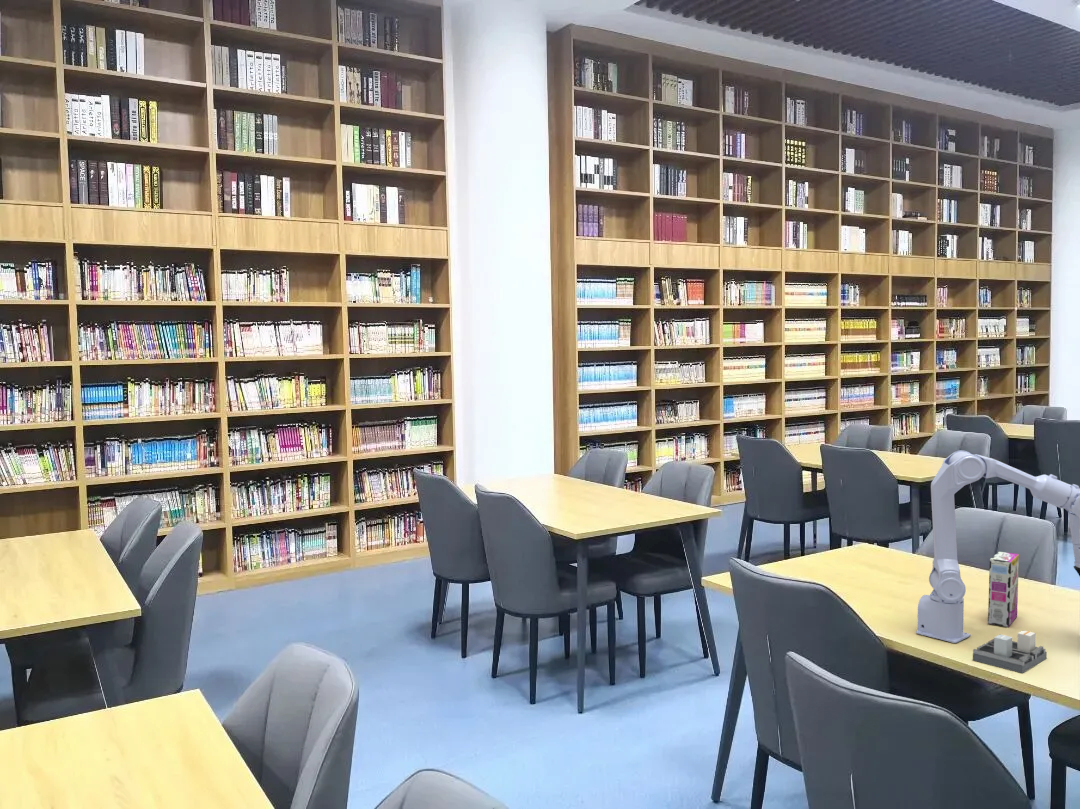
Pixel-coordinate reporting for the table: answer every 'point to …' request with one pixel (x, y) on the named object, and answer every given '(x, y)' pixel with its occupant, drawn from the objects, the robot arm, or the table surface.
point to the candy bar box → (1003, 589)
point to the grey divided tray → (1016, 662)
